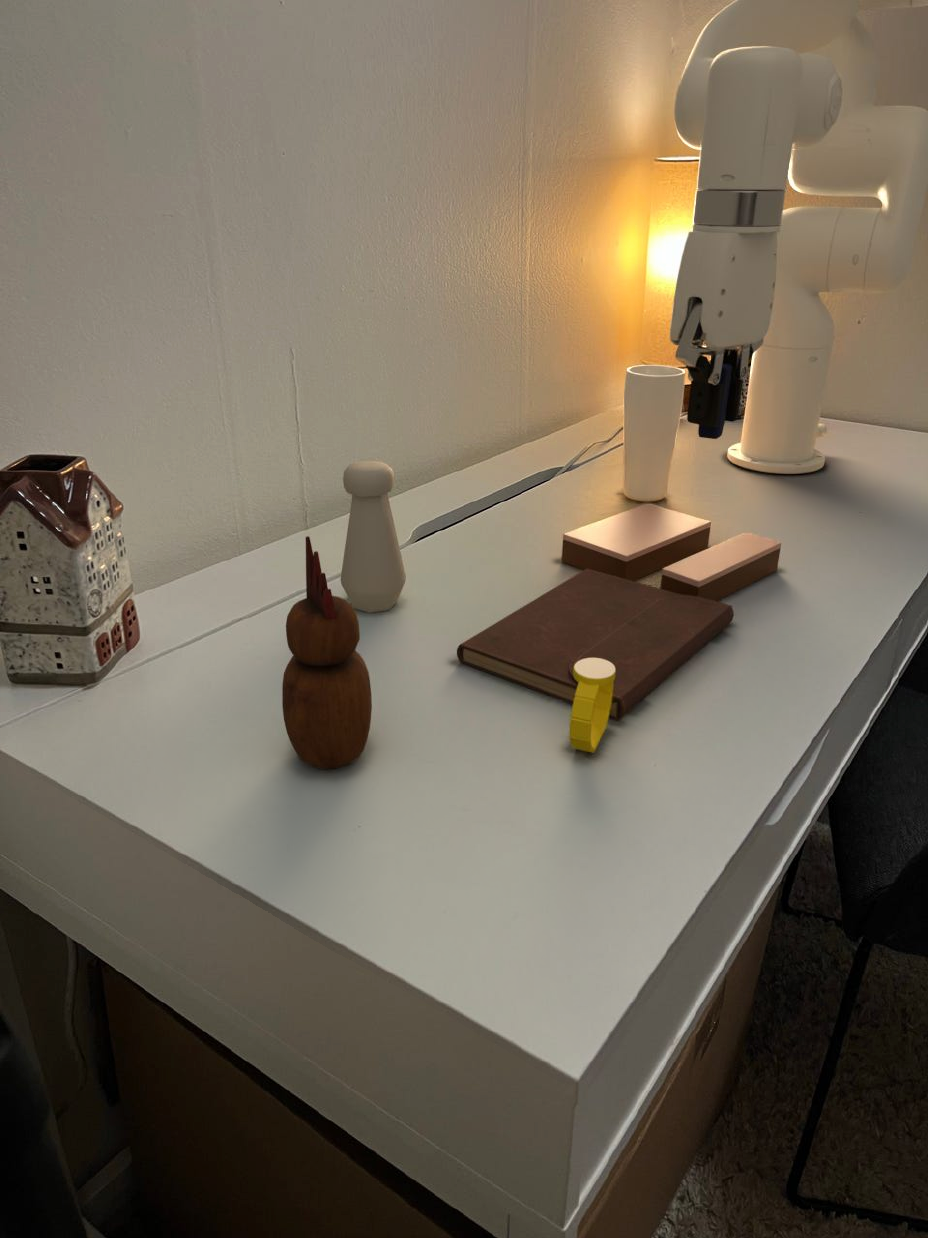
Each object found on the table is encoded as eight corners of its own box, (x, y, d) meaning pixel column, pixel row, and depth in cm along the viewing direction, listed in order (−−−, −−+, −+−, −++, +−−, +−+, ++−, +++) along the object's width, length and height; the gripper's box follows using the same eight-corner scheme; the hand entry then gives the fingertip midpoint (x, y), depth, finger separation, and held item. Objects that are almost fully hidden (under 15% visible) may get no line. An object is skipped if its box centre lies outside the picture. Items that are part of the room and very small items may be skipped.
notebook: (456, 660, 74) (456, 638, 74) (582, 582, 88) (584, 563, 88) (621, 722, 66) (624, 698, 65) (732, 625, 80) (735, 605, 79)
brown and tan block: (645, 528, 102) (648, 502, 101) (707, 548, 97) (711, 521, 95) (561, 561, 93) (562, 533, 92) (624, 585, 88) (627, 556, 87)
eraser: (702, 431, 91) (710, 361, 88) (725, 435, 90) (734, 363, 87) (695, 436, 89) (703, 364, 86) (717, 440, 88) (726, 367, 85)
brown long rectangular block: (741, 559, 94) (745, 531, 93) (777, 570, 91) (781, 542, 90) (658, 598, 85) (662, 568, 84) (695, 612, 83) (699, 581, 81)
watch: (582, 716, 67) (587, 643, 64) (620, 724, 66) (626, 650, 63) (557, 759, 62) (561, 682, 59) (597, 769, 61) (603, 691, 58)
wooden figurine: (292, 727, 65) (274, 528, 59) (374, 724, 66) (365, 526, 59) (283, 784, 59) (262, 569, 53) (373, 780, 60) (363, 566, 53)
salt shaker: (415, 595, 86) (413, 458, 80) (391, 620, 81) (386, 477, 75) (358, 586, 88) (351, 452, 82) (331, 611, 83) (322, 470, 77)
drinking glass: (669, 488, 115) (682, 365, 108) (675, 506, 109) (689, 376, 102) (614, 486, 115) (624, 363, 109) (617, 504, 109) (627, 375, 103)
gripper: (750, 209, 88) (725, 402, 96) (646, 214, 78) (628, 428, 87) (823, 212, 83) (791, 415, 91) (722, 217, 74) (696, 444, 82)
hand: (712, 419), depth 89 cm, fingers closed on eraser, 2 cm apart
